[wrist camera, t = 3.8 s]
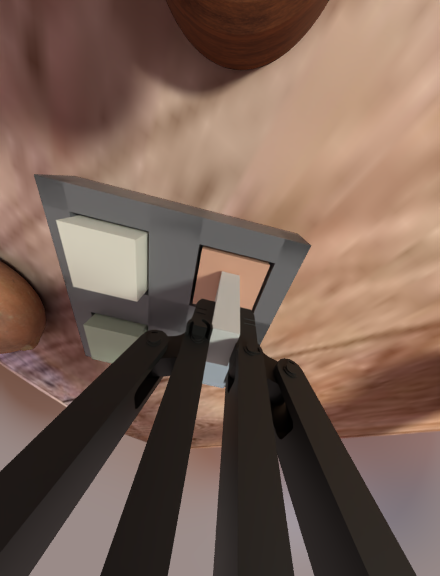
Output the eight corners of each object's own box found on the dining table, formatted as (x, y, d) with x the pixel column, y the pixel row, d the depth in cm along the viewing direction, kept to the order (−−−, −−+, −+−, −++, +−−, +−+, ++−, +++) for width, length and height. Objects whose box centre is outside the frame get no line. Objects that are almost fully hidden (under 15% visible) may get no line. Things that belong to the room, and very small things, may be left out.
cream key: (149, 232, 14) (135, 239, 12) (148, 288, 17) (137, 301, 15) (80, 215, 14) (56, 220, 12) (91, 275, 17) (73, 286, 15)
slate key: (236, 342, 20) (235, 359, 18) (224, 371, 22) (223, 388, 21) (188, 331, 19) (182, 347, 18) (182, 361, 22) (177, 377, 20)
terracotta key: (266, 255, 16) (269, 265, 14) (247, 303, 19) (248, 316, 17) (206, 240, 16) (202, 248, 14) (197, 291, 18) (192, 303, 17)
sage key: (148, 322, 19) (138, 337, 17) (148, 353, 22) (139, 369, 20) (98, 310, 19) (83, 324, 17) (104, 343, 22) (92, 359, 20)
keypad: (297, 233, 16) (311, 245, 13) (237, 365, 26) (236, 389, 23) (74, 176, 15) (33, 174, 12) (103, 335, 25) (85, 355, 22)
